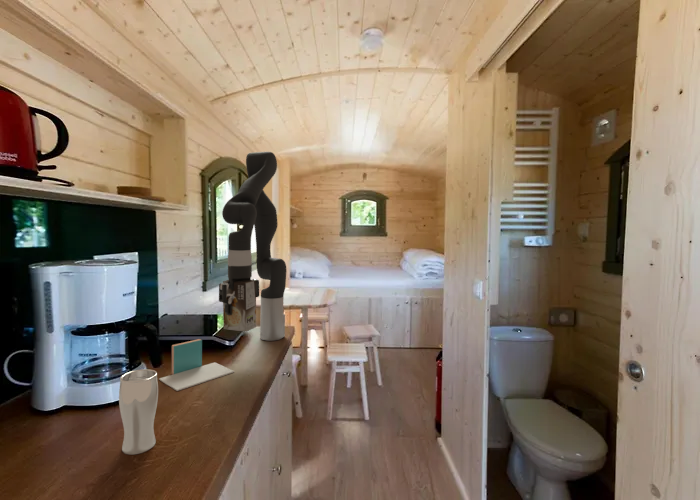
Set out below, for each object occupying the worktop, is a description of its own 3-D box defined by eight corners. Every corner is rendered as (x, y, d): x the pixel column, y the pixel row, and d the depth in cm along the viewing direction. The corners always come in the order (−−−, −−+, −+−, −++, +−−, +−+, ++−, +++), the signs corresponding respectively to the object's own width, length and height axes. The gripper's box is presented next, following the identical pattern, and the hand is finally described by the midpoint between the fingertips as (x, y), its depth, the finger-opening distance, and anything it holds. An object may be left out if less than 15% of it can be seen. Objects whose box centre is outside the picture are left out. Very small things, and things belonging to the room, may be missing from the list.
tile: (199, 365, 119) (199, 338, 119) (201, 367, 118) (202, 339, 118) (171, 373, 112) (171, 345, 112) (174, 375, 111) (174, 346, 111)
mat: (215, 363, 122) (215, 362, 122) (234, 372, 115) (234, 371, 115) (159, 379, 108) (159, 378, 108) (177, 391, 101) (177, 389, 101)
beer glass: (149, 432, 81) (149, 366, 80) (164, 445, 76) (163, 375, 75) (114, 446, 75) (113, 375, 74) (127, 460, 71) (126, 385, 70)
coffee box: (257, 326, 123) (257, 279, 122) (246, 332, 117) (246, 282, 116) (234, 324, 126) (233, 278, 124) (222, 329, 120) (221, 280, 118)
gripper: (251, 261, 128) (250, 307, 129) (213, 264, 116) (213, 314, 118) (264, 263, 123) (264, 310, 124) (227, 266, 112) (227, 318, 113)
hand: (239, 312), depth 121 cm, fingers closed on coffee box, 7 cm apart
